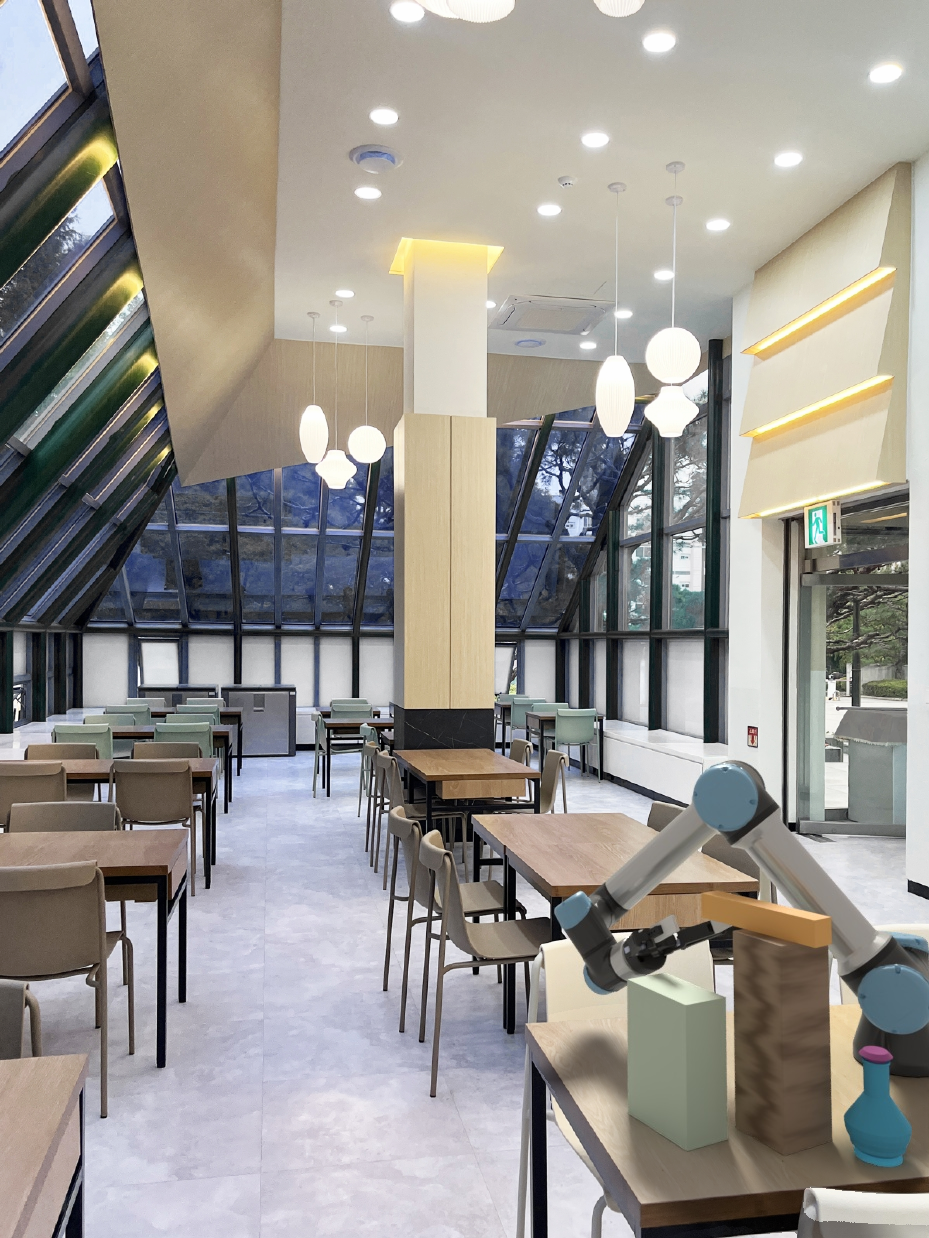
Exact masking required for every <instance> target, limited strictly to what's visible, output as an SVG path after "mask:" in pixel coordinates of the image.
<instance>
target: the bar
mask: <svg viewBox="0 0 929 1238" xmlns="http://www.w3.org/2000/svg"><path fill="white" fill-rule="evenodd" d="M700 896H701V897H700V898H701V899H700V900H701V908H700V909H701V918H703V919H706V920H709V921H710V920H713V921H717V922H721V923H725V924H728V925H732V926H731V927H735V928H740V929H747V930H750V931H754V932H758V933H762V934H765V935H769V936H773V937H776V938H780V939H784V940H787V941H791V942H795V943H799V944H802V945H806V946H810V947H813V948H818V947H822V946H826V945H830V944H832V931H831V917H829V916H825V915H820V914H816V913H812V912H808V911H803V910H799V909H795V908H793V907H792V906H791V907H790V906H786V905H781V904H777V903H773V902H771V903H769V902H765V901H761V900H760V899H756V898H751V897H747V896H744V895H743V896H742V895H739V894H735V893H731V892H726V891H722V890H718V889H716V890H711V891H706V892H705V891H704V892H701V893H700Z"/></svg>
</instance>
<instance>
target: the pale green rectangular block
mask: <svg viewBox="0 0 929 1238" xmlns="http://www.w3.org/2000/svg"><path fill="white" fill-rule="evenodd" d="M626 991H627V994H626V995H627V996H626V997H627V1005H626V1006H627V1007H626V1009H627V1013H626V1014H627V1021H626V1022H627V1030H626V1031H627V1114H629V1115H630V1116H631V1117H633V1118H635V1119H637V1120H638V1121H639V1122H641V1123H643V1124H644V1125H646V1126H648V1127H649V1128H650V1129H652V1130H653V1131H655V1133H656V1132H657V1133H658V1134H660V1135H661V1136H663V1137H664V1138H666V1139H668V1140H669V1141H671V1142H672V1143H674V1144H675V1145H677V1146H678V1147H680V1148H681V1149H683V1150H684V1151H686V1152H689V1151H692V1150H693V1151H694V1150H697V1149H700V1148H703V1147H706V1146H707V1147H708V1146H711V1145H713V1144H716V1143H717V1144H718V1143H720V1142H723V1141H728V1137H729V1135H728V1133H729V1132H728V1078H727V1077H728V1071H727V1070H728V1068H727V1065H728V1062H727V1059H728V1058H727V1053H728V1051H727V997H726V996H723V995H721V994H719V993H716V992H714V991H711V990H709V989H707V988H704V987H702V986H699V985H696V984H694V983H692V982H689V981H687V980H684V979H682V978H680V977H677V976H675V975H673V974H669V973H668V972H662V973H655V974H648V975H646V976H643V977H637V978H631V979H627V986H626Z"/></svg>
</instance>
